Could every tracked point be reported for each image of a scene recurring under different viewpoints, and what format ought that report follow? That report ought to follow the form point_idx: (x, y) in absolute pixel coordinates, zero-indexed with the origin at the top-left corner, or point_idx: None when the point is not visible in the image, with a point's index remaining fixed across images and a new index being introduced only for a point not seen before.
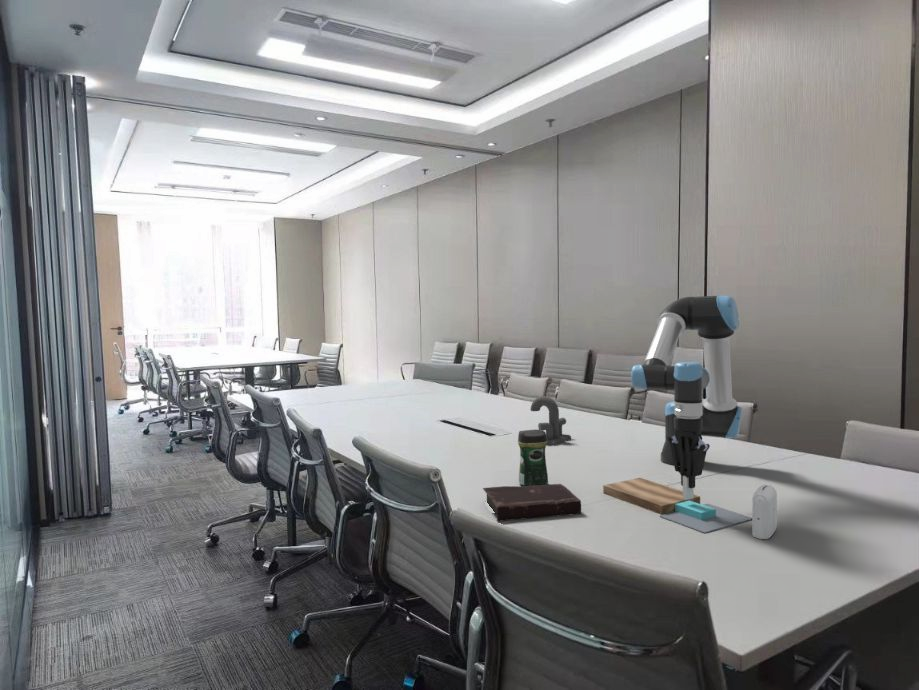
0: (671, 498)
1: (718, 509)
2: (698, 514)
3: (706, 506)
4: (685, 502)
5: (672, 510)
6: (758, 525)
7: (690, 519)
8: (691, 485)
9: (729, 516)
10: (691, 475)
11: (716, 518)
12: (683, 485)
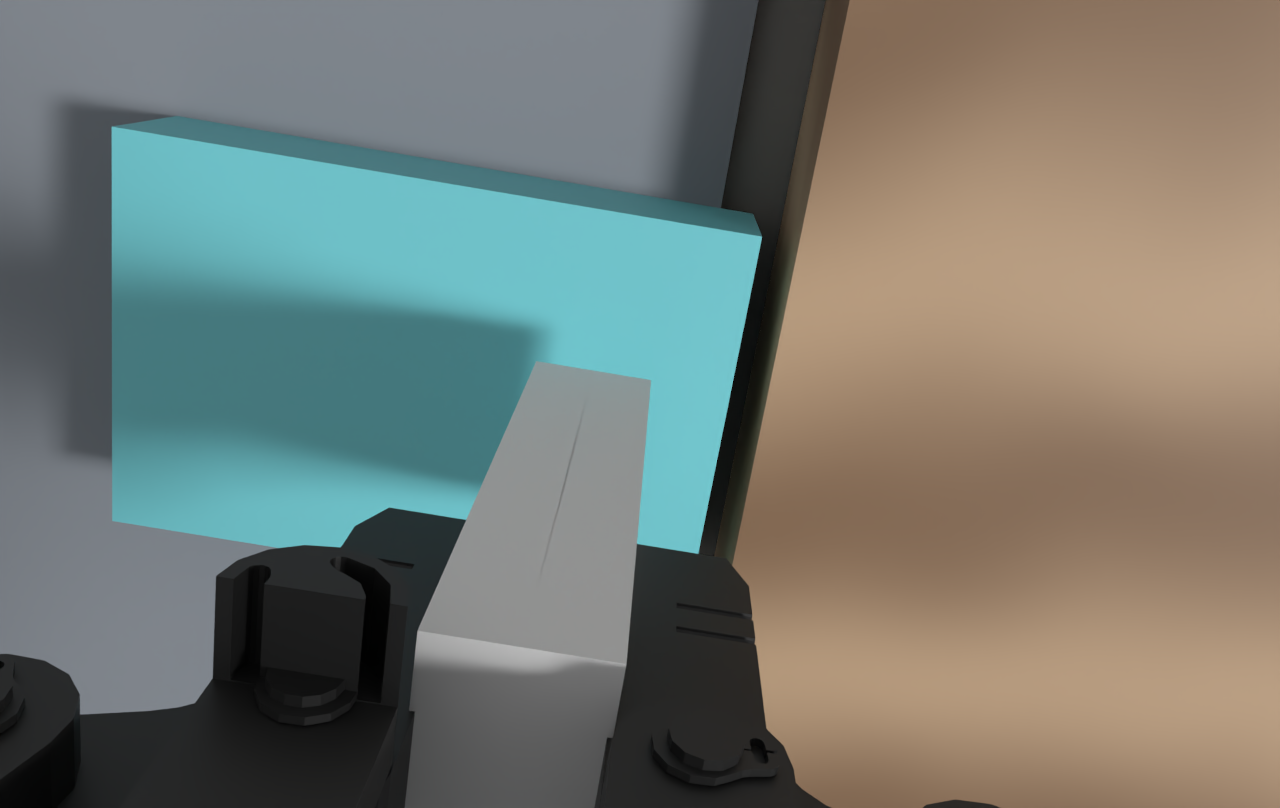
0: (979, 463)
1: None
2: (197, 134)
3: (297, 533)
4: (676, 469)
5: (792, 189)
6: None
7: (306, 1)
8: (363, 549)
9: (51, 600)
10: (214, 722)
11: (92, 380)
12: (612, 498)
